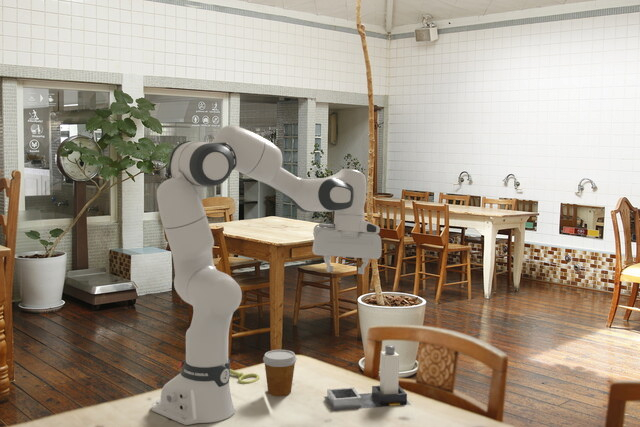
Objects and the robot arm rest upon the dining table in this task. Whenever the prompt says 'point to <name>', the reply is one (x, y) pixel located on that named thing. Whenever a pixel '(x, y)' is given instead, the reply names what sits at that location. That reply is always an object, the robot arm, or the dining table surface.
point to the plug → (389, 371)
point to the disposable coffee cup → (279, 371)
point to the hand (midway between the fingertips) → (345, 272)
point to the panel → (363, 399)
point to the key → (242, 376)
